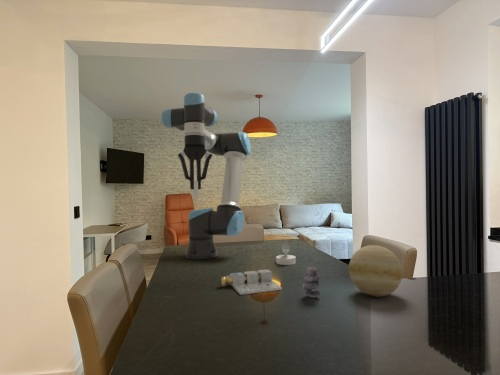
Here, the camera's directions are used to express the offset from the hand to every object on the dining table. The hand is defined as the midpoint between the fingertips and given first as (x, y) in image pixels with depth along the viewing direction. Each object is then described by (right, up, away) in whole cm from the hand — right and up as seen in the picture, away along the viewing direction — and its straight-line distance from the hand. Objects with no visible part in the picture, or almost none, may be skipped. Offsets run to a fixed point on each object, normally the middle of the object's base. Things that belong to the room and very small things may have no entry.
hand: (195, 198), depth 120 cm
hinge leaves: (+21, -29, -10) cm, 37 cm away
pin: (+19, -29, -11) cm, 36 cm away
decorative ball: (+58, -29, -24) cm, 69 cm away
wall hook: (+36, -29, +20) cm, 50 cm away
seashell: (+39, -29, -25) cm, 54 cm away
